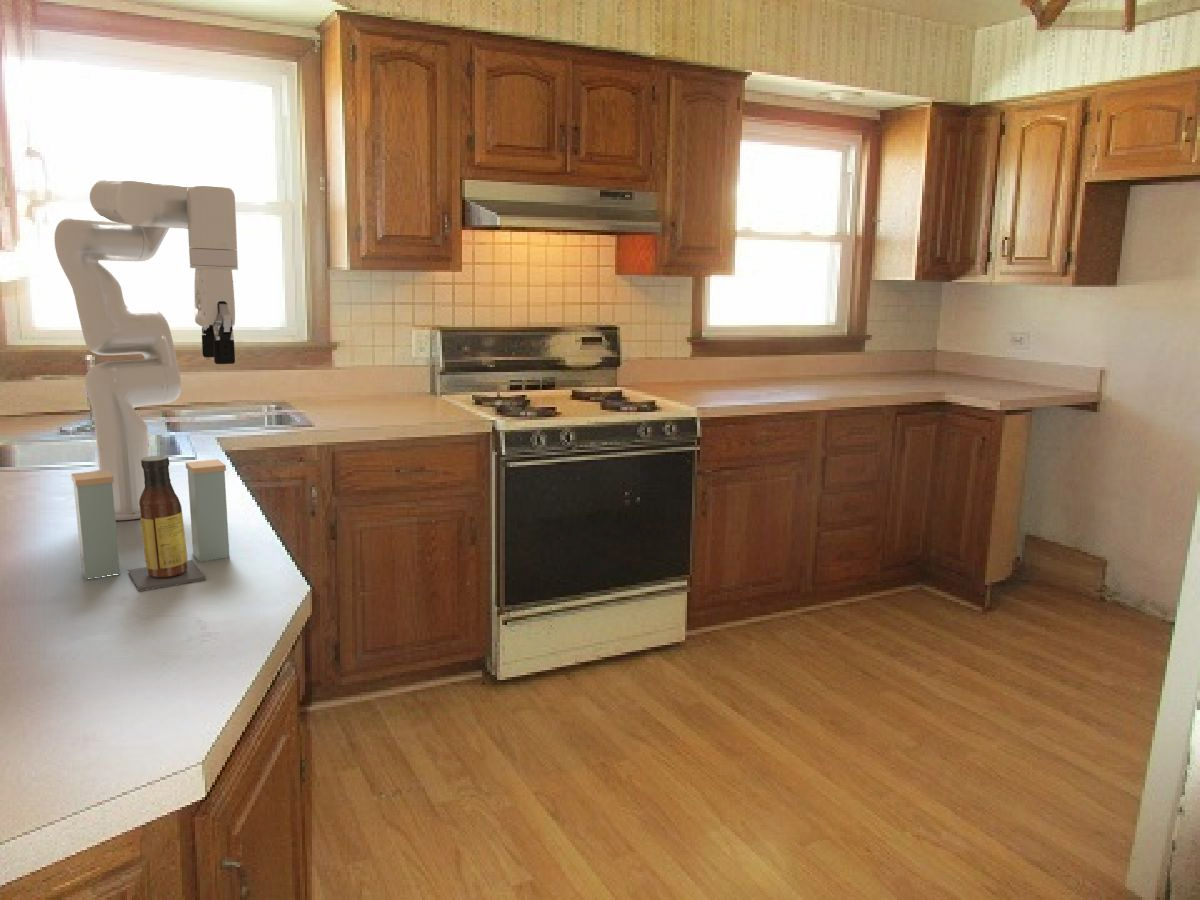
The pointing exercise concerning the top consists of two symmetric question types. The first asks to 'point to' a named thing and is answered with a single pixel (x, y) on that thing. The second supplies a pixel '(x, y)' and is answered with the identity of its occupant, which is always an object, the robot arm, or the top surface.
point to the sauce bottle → (161, 521)
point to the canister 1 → (96, 523)
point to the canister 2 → (208, 509)
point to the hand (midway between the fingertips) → (218, 360)
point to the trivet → (148, 582)
